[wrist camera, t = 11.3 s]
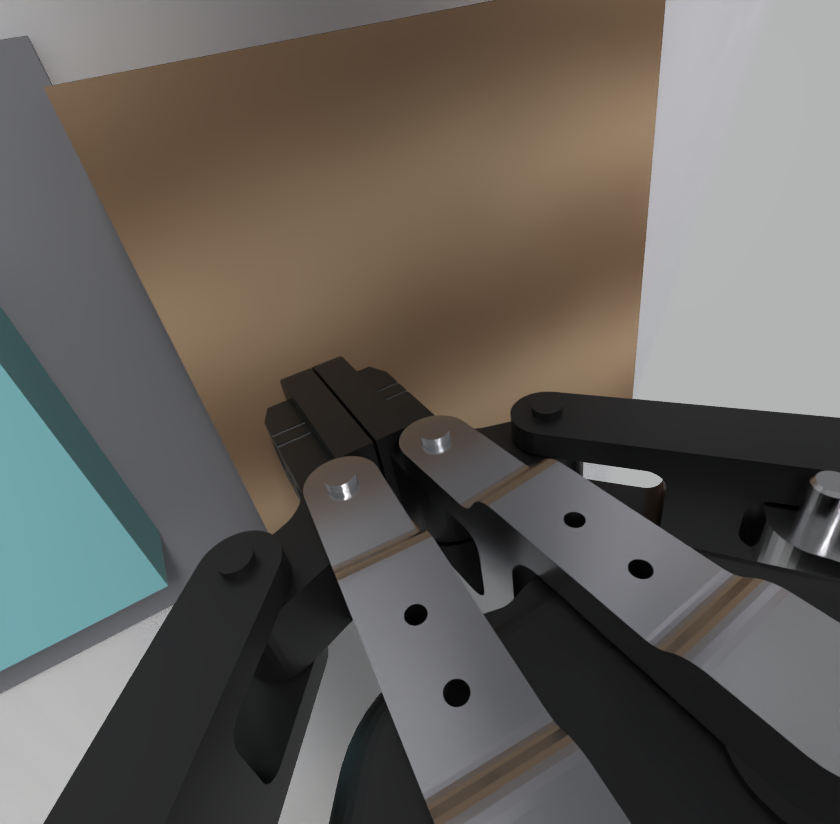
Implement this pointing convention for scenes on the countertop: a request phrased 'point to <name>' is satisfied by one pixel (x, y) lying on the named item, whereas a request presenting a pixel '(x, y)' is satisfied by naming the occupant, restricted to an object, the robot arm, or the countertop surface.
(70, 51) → the countertop surface
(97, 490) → the teal foam pad
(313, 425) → the robot arm
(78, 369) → the mat
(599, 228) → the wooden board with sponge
